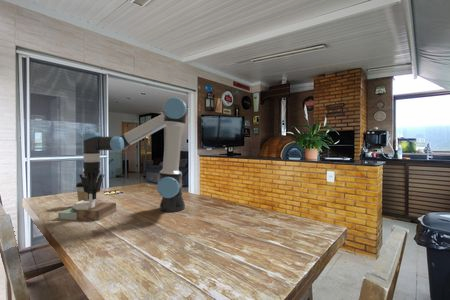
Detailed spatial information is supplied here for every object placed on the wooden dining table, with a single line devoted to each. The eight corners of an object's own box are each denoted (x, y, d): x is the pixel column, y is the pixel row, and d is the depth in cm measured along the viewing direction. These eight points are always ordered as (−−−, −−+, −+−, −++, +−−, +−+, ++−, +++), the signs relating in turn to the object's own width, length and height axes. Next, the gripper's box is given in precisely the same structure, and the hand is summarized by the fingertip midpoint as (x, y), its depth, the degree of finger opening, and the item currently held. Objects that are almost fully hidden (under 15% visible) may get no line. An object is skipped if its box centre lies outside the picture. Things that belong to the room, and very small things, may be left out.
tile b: (94, 206, 126) (94, 201, 126) (87, 209, 120) (87, 204, 120) (84, 206, 126) (84, 201, 126) (76, 209, 120) (76, 203, 120)
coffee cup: (97, 204, 150) (97, 181, 149) (87, 208, 140) (86, 184, 140) (83, 203, 151) (83, 181, 150) (72, 208, 141) (71, 183, 141)
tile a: (82, 200, 135) (80, 204, 135) (75, 202, 129) (72, 207, 129) (90, 205, 134) (88, 210, 135) (83, 208, 128) (81, 213, 129)
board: (116, 211, 134) (116, 202, 134) (98, 220, 118) (98, 210, 118) (96, 210, 135) (96, 202, 135) (77, 219, 119) (76, 210, 119)
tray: (97, 210, 136) (97, 204, 136) (76, 219, 119) (76, 213, 119) (81, 210, 137) (81, 204, 136) (58, 219, 120) (58, 212, 120)
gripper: (107, 161, 125) (107, 203, 126) (85, 160, 126) (85, 203, 127) (98, 162, 118) (99, 207, 118) (75, 161, 119) (75, 206, 119)
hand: (92, 205), depth 122 cm, fingers closed
